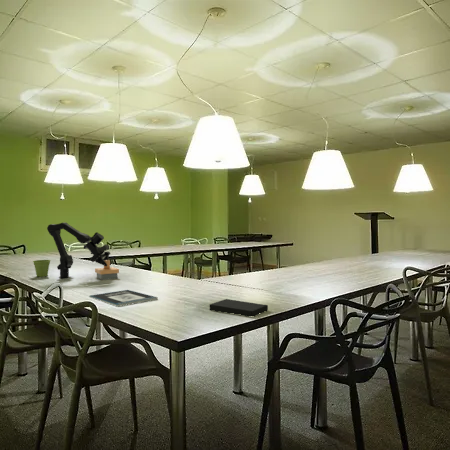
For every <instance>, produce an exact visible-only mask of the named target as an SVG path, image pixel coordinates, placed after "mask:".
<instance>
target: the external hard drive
mask: <svg viewBox="0 0 450 450" xmlns="http://www.w3.org/2000/svg"><path fill="white" fill-rule="evenodd" d="M212 310H215V311H214V312H218V311H221V312H220V313H224V312H227V313H226V314H230V313H234V314H233V315H235V314H241V315H247V316H254V317H256V316H255V315H257V314H259V313H261V314H263V313H262V312H264V311H266V312H267V310H269V306H268V304H264V303H256V302H250V301H249V302H248V301H242V300H235V299H228V298H226V299H221V300H219V301H216V302H213V303H210V304H209V311H212ZM264 313H265V312H264ZM241 315H240V316H241ZM259 315H260V314H259ZM247 316H246V317H247ZM257 316H258V315H257Z"/></svg>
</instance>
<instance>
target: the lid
mask: <svg viewBox="0 0 450 450" xmlns="http://www.w3.org/2000/svg"><path fill="white" fill-rule="evenodd" d="M104 261H105V263H106V264H107V266H104V265H103V267H98V268H95V269H94V272H95V273H96V274H97V273H98V274H112V273H117V274H119V273H120V269H119V268H116V267H113V266H112V267H111V265H110V262H111V260H110V259H109V260H104Z"/></svg>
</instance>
